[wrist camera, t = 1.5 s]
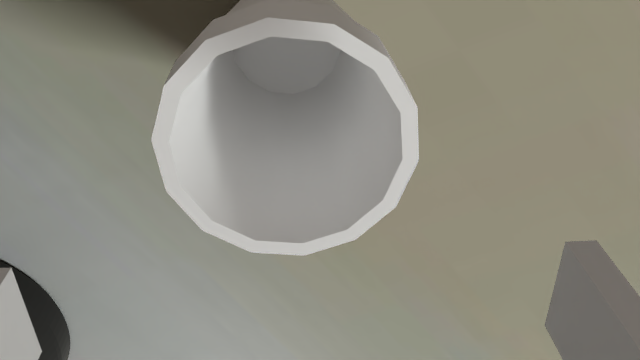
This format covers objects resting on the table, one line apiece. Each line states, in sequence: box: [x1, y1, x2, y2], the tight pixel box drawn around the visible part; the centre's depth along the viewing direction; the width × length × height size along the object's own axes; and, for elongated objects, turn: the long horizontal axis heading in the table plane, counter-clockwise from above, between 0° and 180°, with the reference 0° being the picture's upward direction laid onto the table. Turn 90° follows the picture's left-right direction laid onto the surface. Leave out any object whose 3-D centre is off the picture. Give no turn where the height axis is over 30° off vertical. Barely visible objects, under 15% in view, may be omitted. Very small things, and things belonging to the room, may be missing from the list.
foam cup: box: [151, 0, 419, 256], centre depth 26 cm, size 10×9×13 cm
